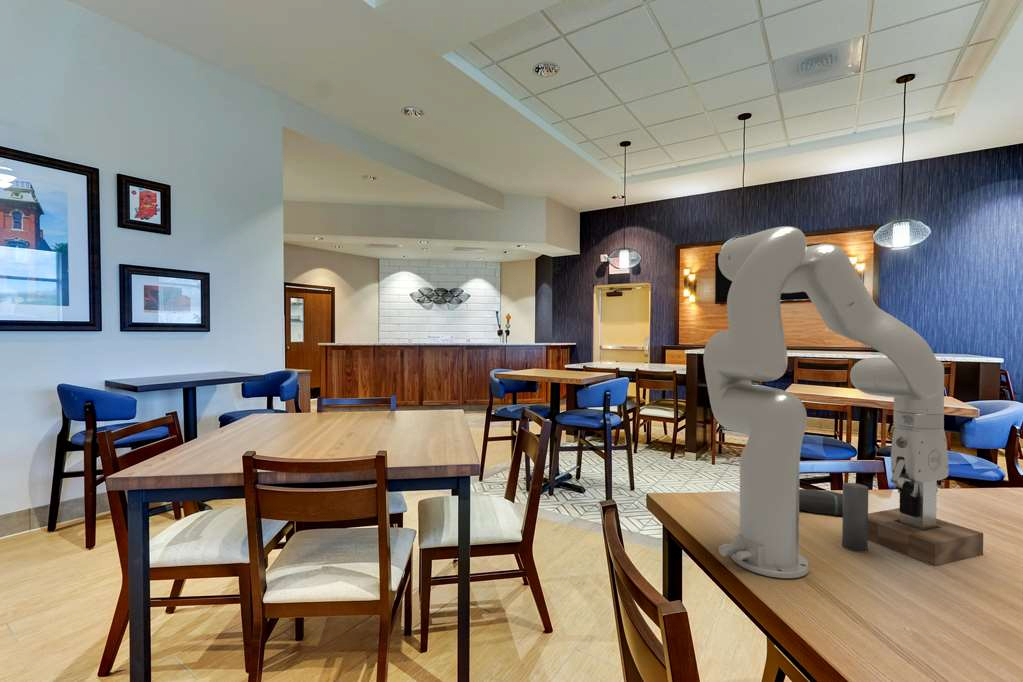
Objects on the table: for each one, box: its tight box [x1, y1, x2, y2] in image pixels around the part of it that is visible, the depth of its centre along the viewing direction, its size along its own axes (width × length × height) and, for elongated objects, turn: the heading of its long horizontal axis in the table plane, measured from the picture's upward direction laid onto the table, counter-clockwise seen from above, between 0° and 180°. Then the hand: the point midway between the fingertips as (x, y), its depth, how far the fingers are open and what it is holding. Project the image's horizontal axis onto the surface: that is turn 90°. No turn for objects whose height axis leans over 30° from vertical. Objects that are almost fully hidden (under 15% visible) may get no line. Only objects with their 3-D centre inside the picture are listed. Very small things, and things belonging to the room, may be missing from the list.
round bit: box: [841, 482, 869, 553], centre depth 92 cm, size 4×4×12 cm
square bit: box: [900, 475, 938, 531], centre depth 94 cm, size 4×4×12 cm
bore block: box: [868, 507, 984, 567], centre depth 94 cm, size 14×14×4 cm
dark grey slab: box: [799, 488, 843, 517], centre depth 110 cm, size 5×19×20 cm
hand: (917, 512), depth 94 cm, fingers closed on square bit, 4 cm apart
